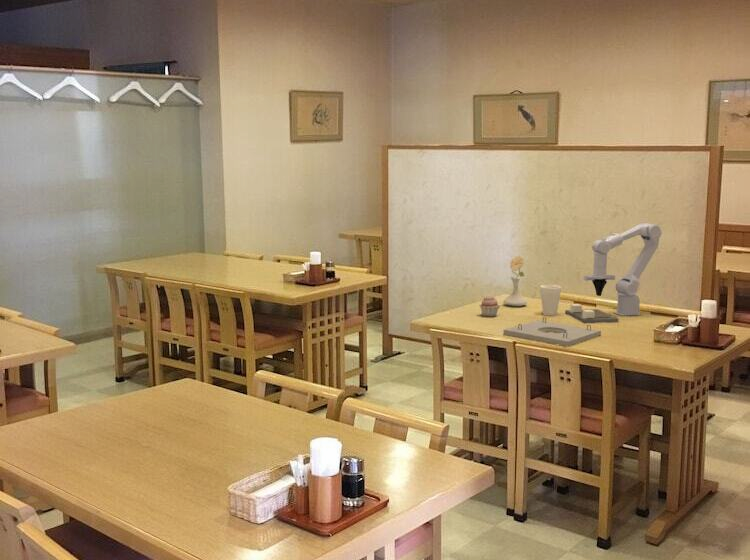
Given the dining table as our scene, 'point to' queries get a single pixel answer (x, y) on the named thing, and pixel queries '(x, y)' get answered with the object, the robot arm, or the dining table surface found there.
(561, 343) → the mounting panel
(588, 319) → the plate
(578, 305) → the handle
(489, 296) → the cupcake
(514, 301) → the flower in vase
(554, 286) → the foam cup
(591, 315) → the handle
